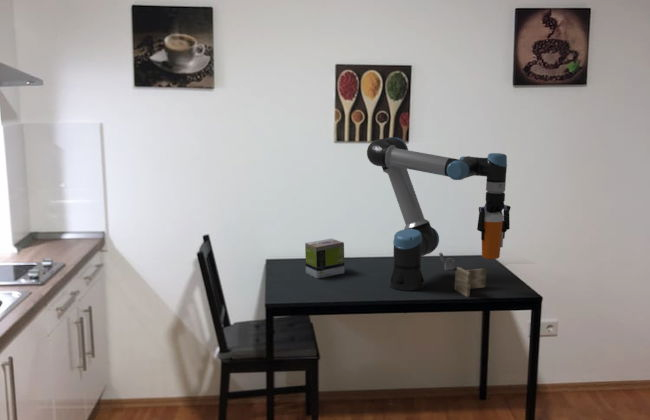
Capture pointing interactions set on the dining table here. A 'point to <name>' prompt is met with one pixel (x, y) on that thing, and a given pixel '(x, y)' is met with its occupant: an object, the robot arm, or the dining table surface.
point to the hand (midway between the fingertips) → (492, 247)
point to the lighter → (447, 262)
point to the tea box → (324, 258)
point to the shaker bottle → (492, 235)
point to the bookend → (469, 280)
